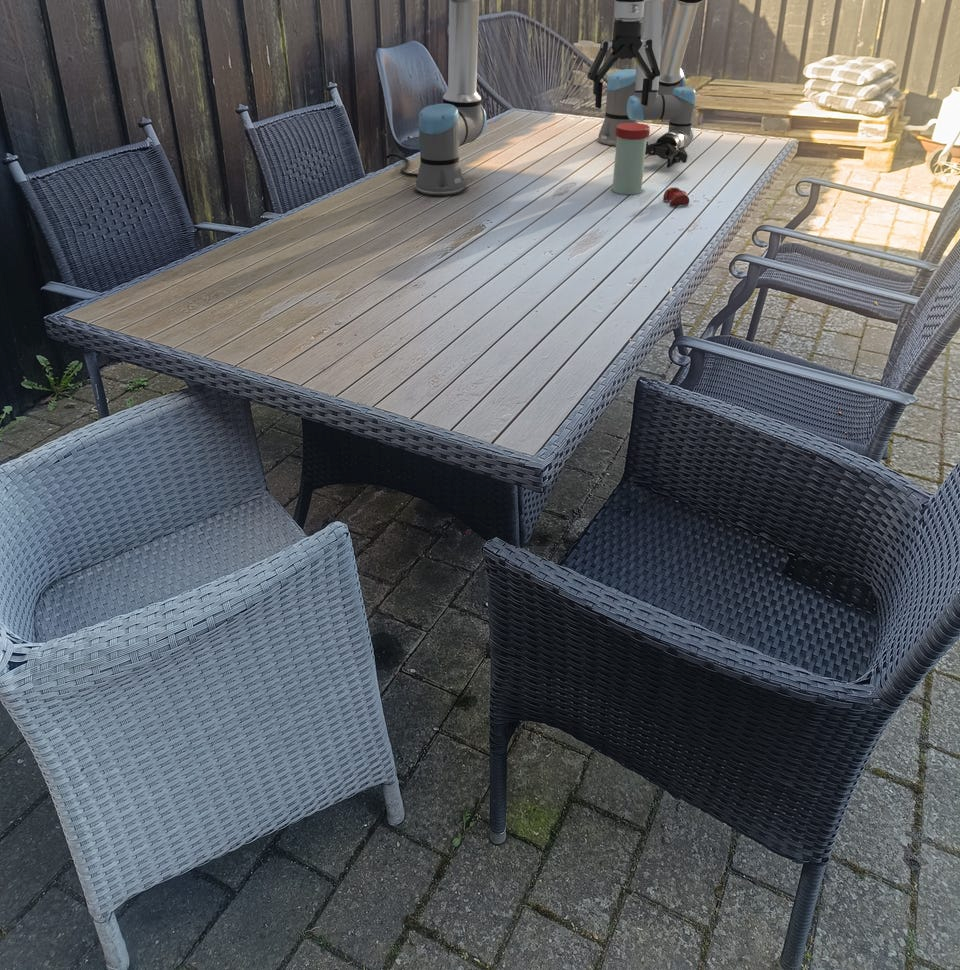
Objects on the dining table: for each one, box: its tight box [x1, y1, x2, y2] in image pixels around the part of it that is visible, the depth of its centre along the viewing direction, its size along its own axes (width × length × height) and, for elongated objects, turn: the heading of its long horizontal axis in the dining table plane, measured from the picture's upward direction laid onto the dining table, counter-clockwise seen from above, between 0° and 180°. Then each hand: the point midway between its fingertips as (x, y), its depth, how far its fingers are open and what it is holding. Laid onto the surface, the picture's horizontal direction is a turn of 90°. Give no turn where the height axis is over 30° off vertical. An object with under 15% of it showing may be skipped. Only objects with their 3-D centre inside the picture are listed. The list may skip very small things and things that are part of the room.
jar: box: [611, 137, 648, 195], centre depth 253 cm, size 9×9×18 cm
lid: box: [615, 122, 651, 139], centre depth 248 cm, size 10×10×2 cm
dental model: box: [662, 187, 690, 207], centre depth 246 cm, size 6×4×8 cm
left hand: (621, 106), depth 234 cm, fingers open, 13 cm apart
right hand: (647, 160), depth 262 cm, fingers open, 13 cm apart
